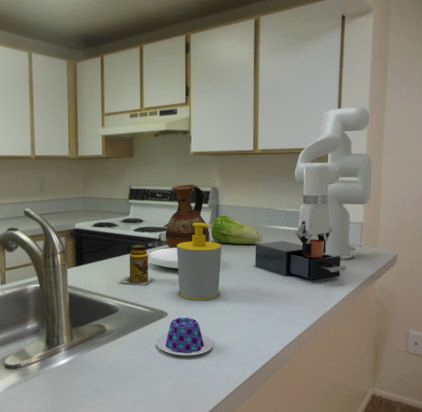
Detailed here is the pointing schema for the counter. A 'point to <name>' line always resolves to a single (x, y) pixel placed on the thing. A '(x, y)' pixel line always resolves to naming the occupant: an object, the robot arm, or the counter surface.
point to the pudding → (184, 338)
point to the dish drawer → (314, 266)
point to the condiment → (138, 266)
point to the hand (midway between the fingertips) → (313, 253)
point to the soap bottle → (199, 266)
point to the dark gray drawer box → (275, 256)
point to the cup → (316, 248)
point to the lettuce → (234, 232)
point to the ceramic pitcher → (185, 216)
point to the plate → (164, 257)
